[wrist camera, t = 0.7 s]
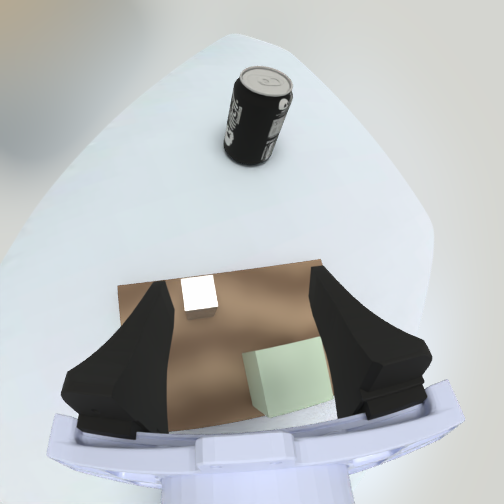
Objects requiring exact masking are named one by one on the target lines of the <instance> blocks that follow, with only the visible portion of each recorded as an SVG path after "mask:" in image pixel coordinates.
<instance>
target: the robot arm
mask: <svg viewBox="0 0 504 504" xmlns="http://www.w3.org/2000/svg"><path fill="white" fill-rule="evenodd" d="M308 297H309V302H310V307H311V311H312V315H313V318H314V321H315V323H316V326H317V329H318V332H319V335H320V338H321V340H322V343H323V346H324V349H325V352H326V356H327V360H328V364H329V369H330V374H331V379H332V384H333V390H334V396H335V402H336V410H337V417H338V419H336V420H331V421H326V422H321V423H316V424H310V425H304V426H298V427H292V428H284V429H277V430H268V431H258V432H246V433H231V434H169V430H168V418H167V368H168V360H169V354H170V348H171V342H172V336H173V330H174V315H175V309H174V306H173V303H172V300H171V297H170V294H169V291H168V288H167V285H166V282H165V281H155V282H153V283H152V284H151V286H150V287H149V289H148V290H147V292H146V293H145V295H144V296H143V298H142V299H141V300H140V302H139V303H138V305H137V306H136V307H135V309H134V310H133V312H132V313H131V314H130V316H129V317H128V318H127V319H126V321H125V322H124V323H123V325H122V326H121V327H120V328H119V329H118V330H117V332H116V333H115V334H114V335H113V336H112V337H111V338H110V339H109V340H108V341H107V342H106V343H105V344H104V345H103V346H101V347H100V348H99V349H98V350H97V351H96V352H95V353H93V354H92V355H91V356H90V357H88V358H87V359H86V360H85V361H83V362H82V363H80V364H79V365H77V366H76V367H74V368H73V369H71V370H70V371H68V372H67V375H66V378H65V381H64V384H63V388H62V391H61V397H62V398H63V400H64V401H65V402H66V403H67V404H68V405H69V406H70V407H71V408H72V409H74V410H75V411H76V412H77V413H78V414H79V417H78V419H76V418H74V417H71V416H66V415H61V414H55V416H54V420H53V425H52V429H51V434H50V438H49V443H48V448H47V454H46V455H47V456H48V457H49V458H51V459H53V460H55V461H57V462H59V463H61V464H63V465H65V466H67V467H69V468H71V469H73V470H75V471H79V472H82V473H86V474H90V475H94V476H98V477H102V478H106V479H110V480H114V481H119V482H123V483H128V484H133V485H139V486H144V487H150V488H157V489H162V504H355V502H354V497H353V492H352V488H351V483H350V478H349V475H350V474H353V473H357V472H360V471H363V470H366V469H369V468H372V467H375V466H377V465H380V464H383V463H386V462H388V461H391V460H394V459H396V458H399V457H401V456H403V455H406V454H408V453H411V452H413V451H415V450H418V449H420V448H422V447H424V446H426V445H429V444H431V443H433V442H435V441H437V440H440V439H441V438H443V437H444V436H446V435H447V434H448V433H450V432H451V431H452V430H454V429H455V428H456V427H458V426H459V425H460V424H461V423H463V422H464V421H465V417H464V415H463V412H462V410H461V407H460V405H459V403H458V400H457V398H456V396H455V394H454V391H453V389H452V387H451V385H450V383H449V381H448V380H447V379H446V380H444V381H441V382H439V383H436V384H433V385H431V386H429V387H427V388H426V389H424V387H423V385H422V384H423V383H424V379H423V377H422V375H423V374H424V372H425V371H426V369H427V368H428V367H429V365H430V363H431V361H432V355H431V353H430V351H429V349H428V346H427V345H426V343H425V342H424V340H422V339H420V338H417V337H415V336H413V335H410V334H408V333H406V332H404V331H402V330H400V329H398V328H396V327H394V326H393V325H391V324H389V323H388V322H386V321H384V320H383V319H381V318H380V317H378V316H377V315H375V314H374V313H373V312H371V311H370V310H369V309H367V308H366V307H365V306H363V305H362V304H361V303H360V302H359V301H358V300H356V299H355V298H354V297H353V296H352V295H351V294H350V293H349V292H348V291H347V290H346V289H345V288H344V287H343V286H342V285H341V284H340V283H339V282H338V281H337V280H336V279H335V278H334V277H333V276H332V274H331V273H330V272H329V271H328V270H327V269H326V268H325V267H324V266H323V265H322V266H313V267H311V273H310V284H309V295H308Z"/></svg>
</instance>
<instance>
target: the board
mask: <svg viewBox="0 0 504 504" xmlns="http://www.w3.org/2000/svg"><path fill="white" fill-rule="evenodd" d="M313 266H322V262H321V259H318V260H311V261H304V262H297V263H290V264H283V265H276V266H269V267H262V268H254V269H247V270H239V271H232V272H224V273H217V274H209V275H213V280H214V286H215V292H216V298H217V304H218V307H217V310H216V313H215V315H214V317H208V318H201V319H194V320H187V316H186V312H185V305H184V298H183V291H182V284H181V279H185V278H193V277H201V276H209V275H201V276H193V277H185V278H177V279H169V280H161V281H165V282H166V285H167V288H168V291H169V294H170V297H171V300H172V303H173V306H174V309H175V315H174V330H173V336H172V342H171V348H170V354H169V360H168V368H167V418H168V430H169V432H171V431H180V430H188V429H196V428H203V427H210V426H216V425H222V424H227V423H233V422H238V421H243V420H247V419H252V418H257V417H261V416H265V415H264V414H263V413H262V412H260V411H259V410H258V409H256V408H255V407H254V406H253V405H252V400H251V395H250V391H249V386H248V381H247V376H246V372H245V367H244V362H243V357H242V353H246V352H252V351H257V350H262V349H267V348H271V347H276V346H281V345H285V344H290V343H294V342H298V341H303V340H307V339H311V338H315V337H319V336H320V335H319V332H318V329H317V326H316V323H315V321H314V318H313V315H312V311H311V307H310V302H309V297H308V295H309V284H310V273H311V267H313ZM153 282H155V281H153ZM153 282H144V283H136V284H127V285H119V286H118V300H119V311H120V321H121V326H122V325H123V323H124V322H125V321H126V319H127V318H128V317H129V316H130V314H131V313H132V312H133V310H134V309H135V307H136V306H137V305H138V303H139V302H140V300H141V299H142V298H143V296H144V295H145V293H146V292H147V290H148V289H149V287H150V286H151V284H152V283H153ZM321 341H322V340H321ZM322 345H323V343H322ZM323 350H324V354H325V359H326V364H327V368H328V373H329V378H330V383H331V388H332V393H333V396H334V390H333V384H332V379H331V374H330V369H329V364H328V360H327V356H326V352H325V349H324V346H323Z"/></svg>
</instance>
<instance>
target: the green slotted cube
mask: <svg viewBox="0 0 504 504" xmlns="http://www.w3.org/2000/svg"><path fill="white" fill-rule="evenodd" d="M242 357H243V362H244V367H245V372H246V376H247V381H248V386H249V391H250V395H251V400H252V405H253V406H254V407H255V408H256V409H258V410H259V411H260V412H262V413H263V414H264V415H266V416H267V417H269V418H272V417H276V416H280V415H283V414H287V413H291V412H294V411H298V410H301V409H305V408H308V407H311V406H314V405H317V404H320V403H324V402H327V401H329V400H332V399H334V398H333V393H332V388H331V383H330V378H329V373H328V368H327V364H326V359H325V354H324V350H323V345H322V341H321V338H320V336H319V337H315V338H311V339H307V340H303V341H298V342H294V343H290V344H285V345H281V346H276V347H271V348H267V349H262V350H257V351H252V352H246V353H242Z"/></svg>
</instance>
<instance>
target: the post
mask: <svg viewBox="0 0 504 504" xmlns="http://www.w3.org/2000/svg"><path fill="white" fill-rule="evenodd" d="M181 284H182V291H183V298H184V305H185V312H186V316H187V320H194V319H201V318H208V317H214V315H215V313H216V310H217V307H218V304H217V298H216V292H215V286H214V280H213V275H209V276H201V277H193V278H185V279H181Z"/></svg>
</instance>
